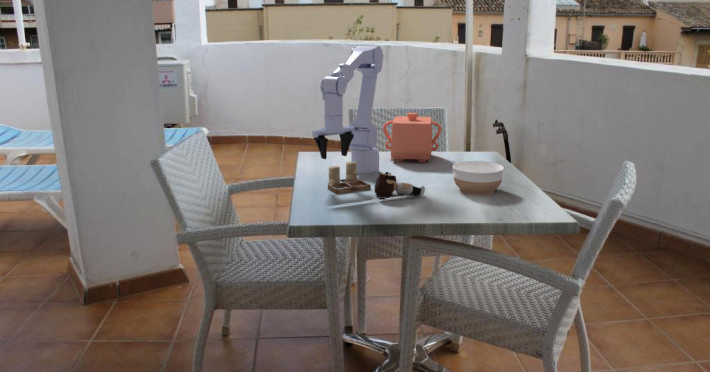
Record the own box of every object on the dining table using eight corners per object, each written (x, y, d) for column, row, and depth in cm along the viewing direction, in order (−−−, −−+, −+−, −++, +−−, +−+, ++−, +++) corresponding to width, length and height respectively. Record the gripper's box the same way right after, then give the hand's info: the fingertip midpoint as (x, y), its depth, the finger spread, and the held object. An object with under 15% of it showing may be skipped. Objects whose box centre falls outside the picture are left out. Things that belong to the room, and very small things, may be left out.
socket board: (361, 186, 196) (361, 180, 196) (370, 191, 191) (370, 184, 190) (327, 191, 191) (327, 184, 191) (336, 196, 186) (336, 189, 185)
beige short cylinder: (354, 180, 201) (354, 161, 200) (359, 182, 198) (359, 163, 196) (343, 181, 200) (343, 162, 198) (348, 184, 196) (348, 164, 194)
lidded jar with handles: (386, 149, 253) (386, 106, 248) (440, 150, 250) (442, 107, 245) (380, 162, 229) (380, 116, 224) (440, 164, 226) (442, 117, 221)
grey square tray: (354, 181, 203) (354, 176, 202) (363, 185, 198) (363, 180, 197) (340, 183, 200) (340, 178, 200) (347, 187, 195) (347, 182, 195)
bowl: (472, 200, 182) (473, 175, 180) (441, 187, 196) (442, 163, 193) (513, 193, 189) (515, 169, 187) (480, 181, 203) (482, 158, 201)
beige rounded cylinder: (337, 184, 199) (337, 165, 197) (342, 187, 195) (342, 168, 194) (326, 186, 197) (326, 166, 195) (331, 189, 194) (331, 169, 192)
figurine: (428, 179, 181) (380, 168, 180) (424, 205, 179) (375, 194, 178) (421, 186, 190) (375, 175, 189) (417, 211, 188) (370, 200, 187)
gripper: (346, 111, 197) (346, 152, 201) (307, 115, 189) (308, 157, 193) (358, 114, 191) (358, 156, 195) (318, 118, 184) (319, 161, 187)
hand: (334, 157), depth 194 cm, fingers open, 7 cm apart
